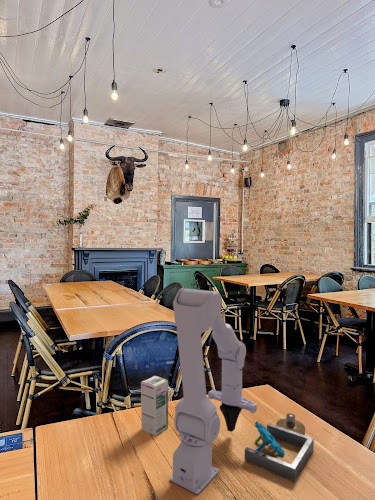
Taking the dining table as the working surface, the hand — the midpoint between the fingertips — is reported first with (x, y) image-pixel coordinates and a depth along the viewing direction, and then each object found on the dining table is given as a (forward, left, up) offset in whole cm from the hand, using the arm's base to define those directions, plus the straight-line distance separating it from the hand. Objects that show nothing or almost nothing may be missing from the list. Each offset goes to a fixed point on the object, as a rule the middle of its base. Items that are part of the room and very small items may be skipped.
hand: (231, 429), depth 97 cm
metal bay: (0, -14, -2) cm, 14 cm away
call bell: (+12, -13, -2) cm, 18 cm away
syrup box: (-10, +20, -2) cm, 23 cm away
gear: (0, -11, -2) cm, 12 cm away
